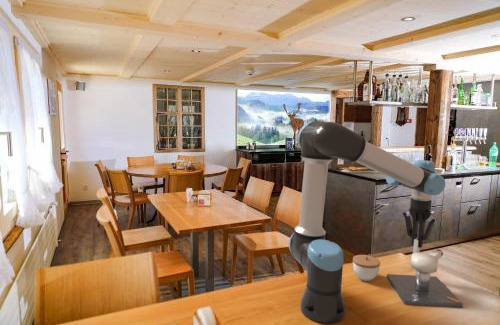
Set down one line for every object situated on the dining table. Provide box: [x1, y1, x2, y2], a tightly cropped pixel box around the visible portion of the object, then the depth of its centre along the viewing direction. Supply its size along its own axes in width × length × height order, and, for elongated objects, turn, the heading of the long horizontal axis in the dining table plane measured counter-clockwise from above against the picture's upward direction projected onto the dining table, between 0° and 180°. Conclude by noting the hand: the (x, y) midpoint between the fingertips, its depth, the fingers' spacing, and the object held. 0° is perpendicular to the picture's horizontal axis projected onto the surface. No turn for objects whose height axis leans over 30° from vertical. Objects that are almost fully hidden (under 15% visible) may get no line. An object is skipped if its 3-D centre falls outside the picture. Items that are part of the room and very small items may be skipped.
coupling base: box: [386, 270, 464, 308], centre depth 129 cm, size 20×20×10 cm
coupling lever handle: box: [410, 249, 444, 274], centre depth 132 cm, size 20×9×4 cm, turn 130°
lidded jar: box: [352, 254, 381, 282], centre depth 140 cm, size 11×11×9 cm
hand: (416, 253), depth 139 cm, fingers closed
